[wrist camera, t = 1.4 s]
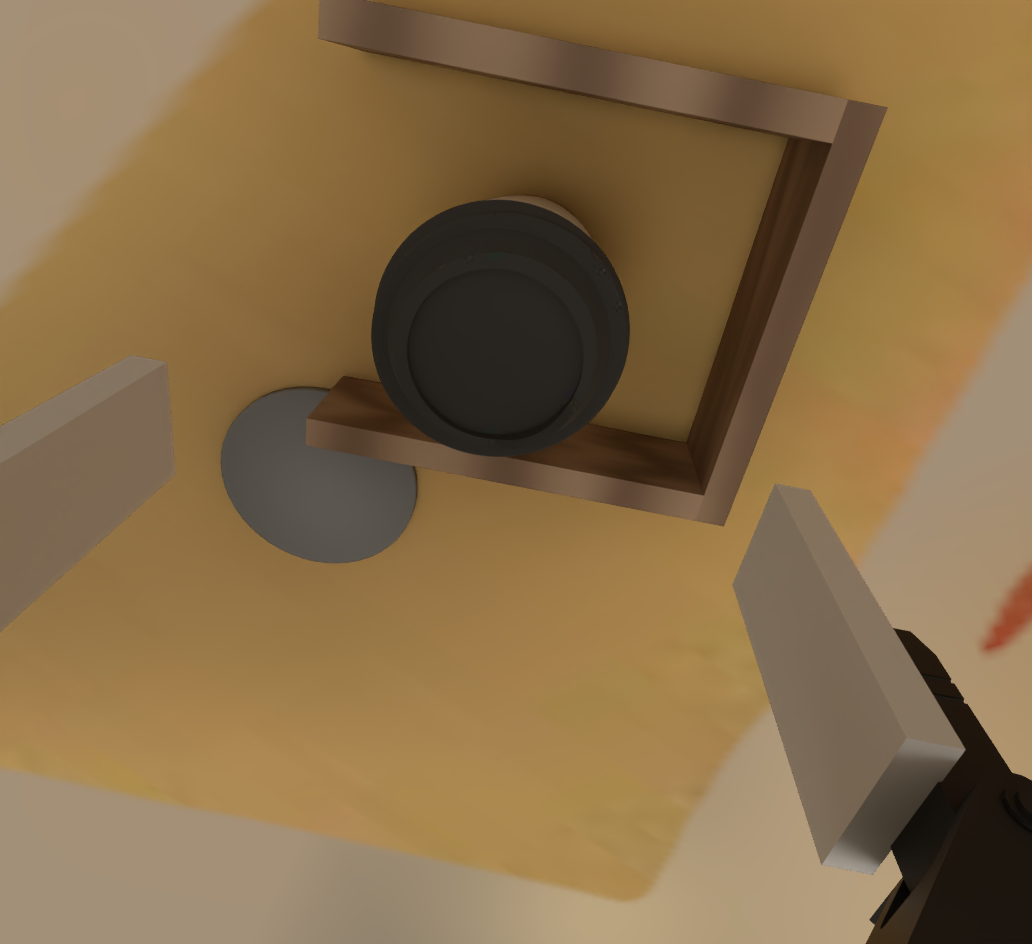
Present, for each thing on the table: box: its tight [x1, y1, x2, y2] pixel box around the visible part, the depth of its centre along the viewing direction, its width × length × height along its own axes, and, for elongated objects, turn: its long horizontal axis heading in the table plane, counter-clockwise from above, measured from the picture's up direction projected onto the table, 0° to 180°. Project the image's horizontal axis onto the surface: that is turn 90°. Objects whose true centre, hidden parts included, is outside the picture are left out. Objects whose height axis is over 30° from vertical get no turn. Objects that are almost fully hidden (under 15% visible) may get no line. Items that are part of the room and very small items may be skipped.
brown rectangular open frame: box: [306, 0, 887, 526], centre depth 32 cm, size 22×19×6 cm
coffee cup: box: [371, 195, 630, 457], centre depth 28 cm, size 9×9×15 cm
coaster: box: [221, 387, 417, 563], centre depth 42 cm, size 12×12×1 cm
